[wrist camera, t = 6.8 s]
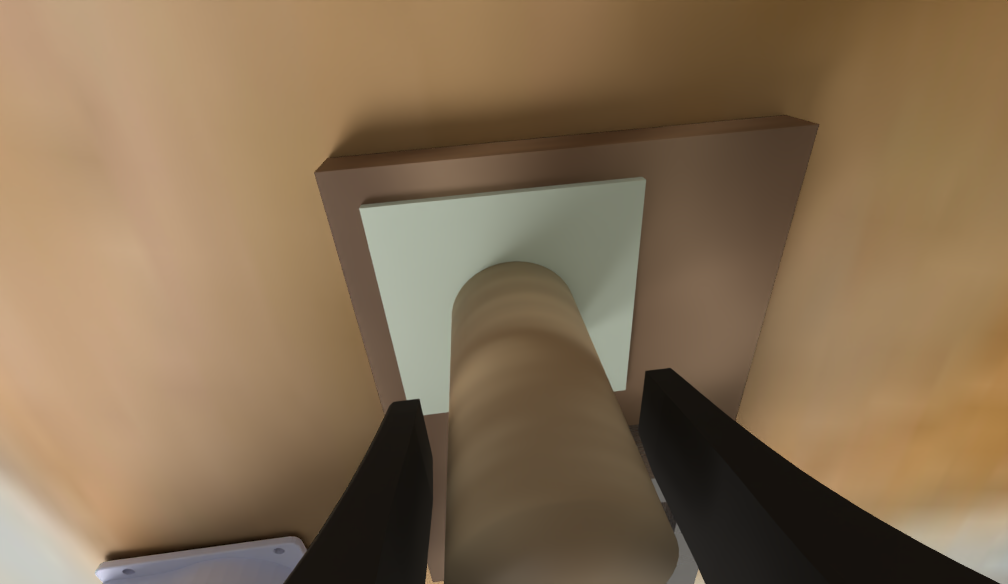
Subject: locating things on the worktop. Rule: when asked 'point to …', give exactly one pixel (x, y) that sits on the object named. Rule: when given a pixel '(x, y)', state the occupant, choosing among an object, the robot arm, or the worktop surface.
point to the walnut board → (662, 254)
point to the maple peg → (541, 446)
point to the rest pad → (498, 239)
